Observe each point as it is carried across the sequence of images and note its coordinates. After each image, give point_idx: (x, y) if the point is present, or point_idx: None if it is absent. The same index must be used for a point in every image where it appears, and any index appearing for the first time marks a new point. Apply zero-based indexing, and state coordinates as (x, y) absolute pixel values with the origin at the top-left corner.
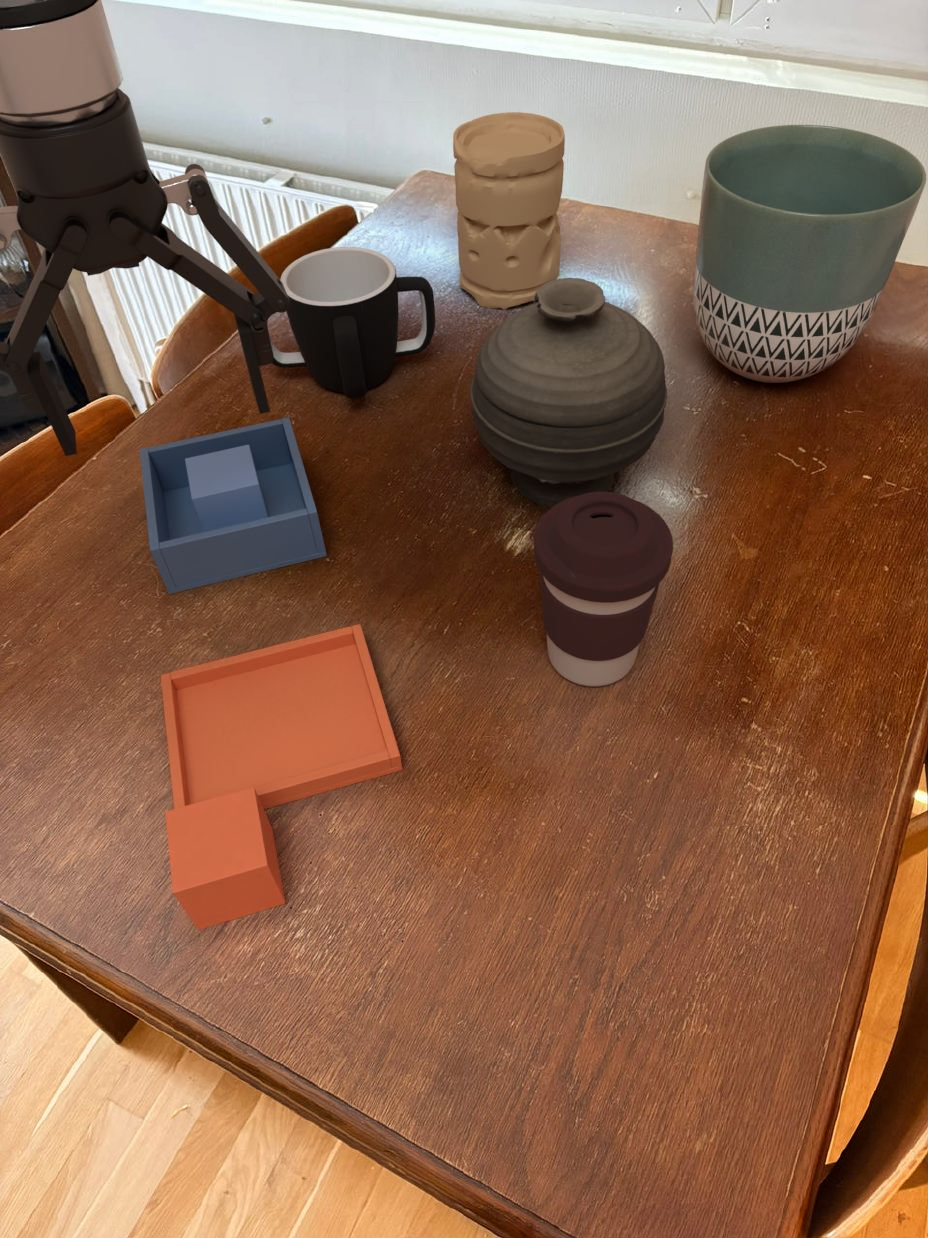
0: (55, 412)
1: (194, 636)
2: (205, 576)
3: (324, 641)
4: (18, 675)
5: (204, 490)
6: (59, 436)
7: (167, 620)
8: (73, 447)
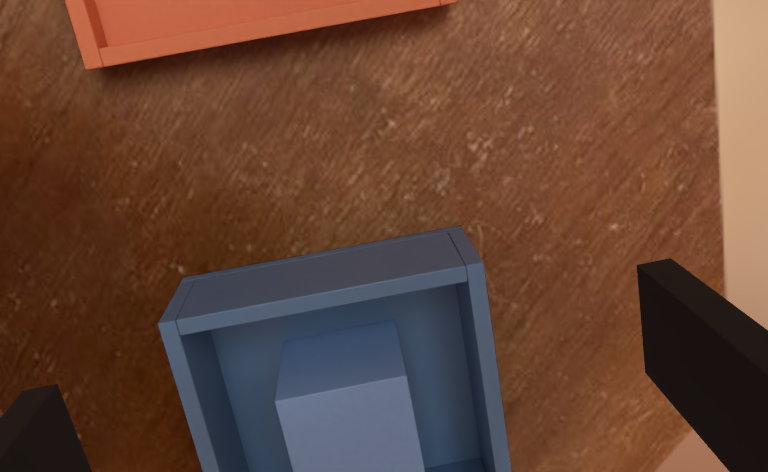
0: (730, 336)
1: (411, 121)
2: (394, 244)
3: (154, 38)
4: (703, 79)
5: (382, 395)
6: (700, 288)
7: (460, 166)
8: (649, 273)
